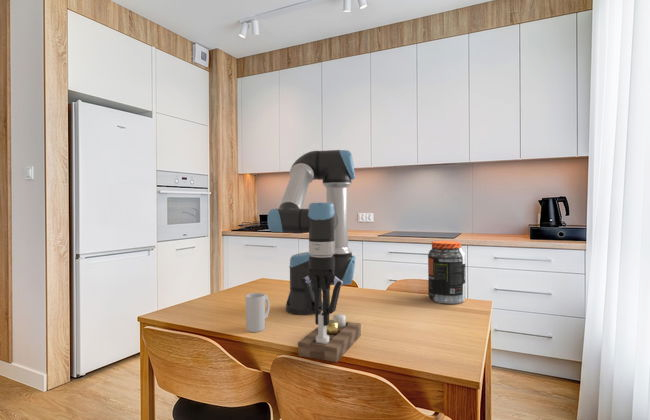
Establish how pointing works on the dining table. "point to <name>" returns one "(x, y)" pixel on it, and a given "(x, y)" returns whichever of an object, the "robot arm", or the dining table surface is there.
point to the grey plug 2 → (340, 320)
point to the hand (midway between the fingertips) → (322, 335)
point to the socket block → (330, 343)
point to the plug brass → (332, 328)
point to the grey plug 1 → (322, 339)
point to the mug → (256, 311)
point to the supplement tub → (446, 272)
